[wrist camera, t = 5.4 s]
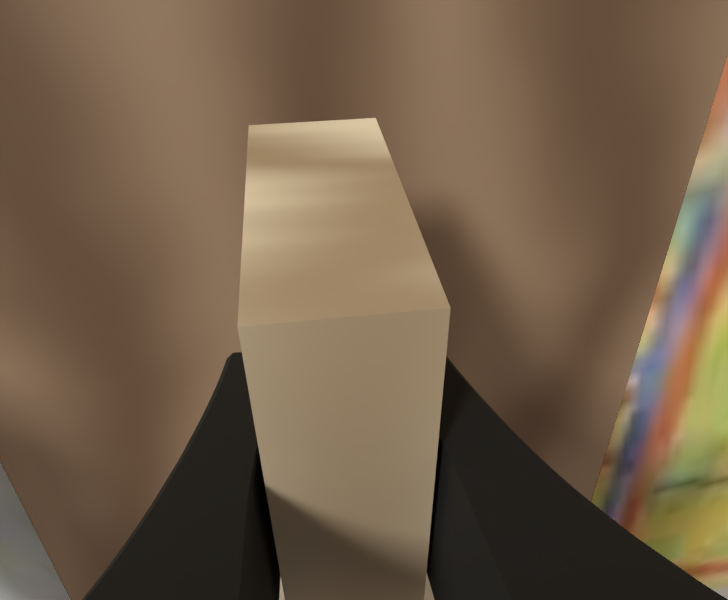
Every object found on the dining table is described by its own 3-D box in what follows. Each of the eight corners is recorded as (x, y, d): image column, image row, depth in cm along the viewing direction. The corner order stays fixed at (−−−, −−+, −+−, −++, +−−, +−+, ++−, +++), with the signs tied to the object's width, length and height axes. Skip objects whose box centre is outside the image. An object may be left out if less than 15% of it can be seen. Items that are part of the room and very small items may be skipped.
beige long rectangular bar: (300, 531, 16) (312, 755, 12) (248, 124, 10) (237, 327, 6) (375, 522, 16) (411, 740, 12) (375, 118, 10) (450, 308, 6)
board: (107, 637, 27) (102, 660, 26) (-286, -183, 11) (-332, -188, 10) (552, 579, 29) (560, 599, 28) (769, -188, 13) (803, -192, 12)
